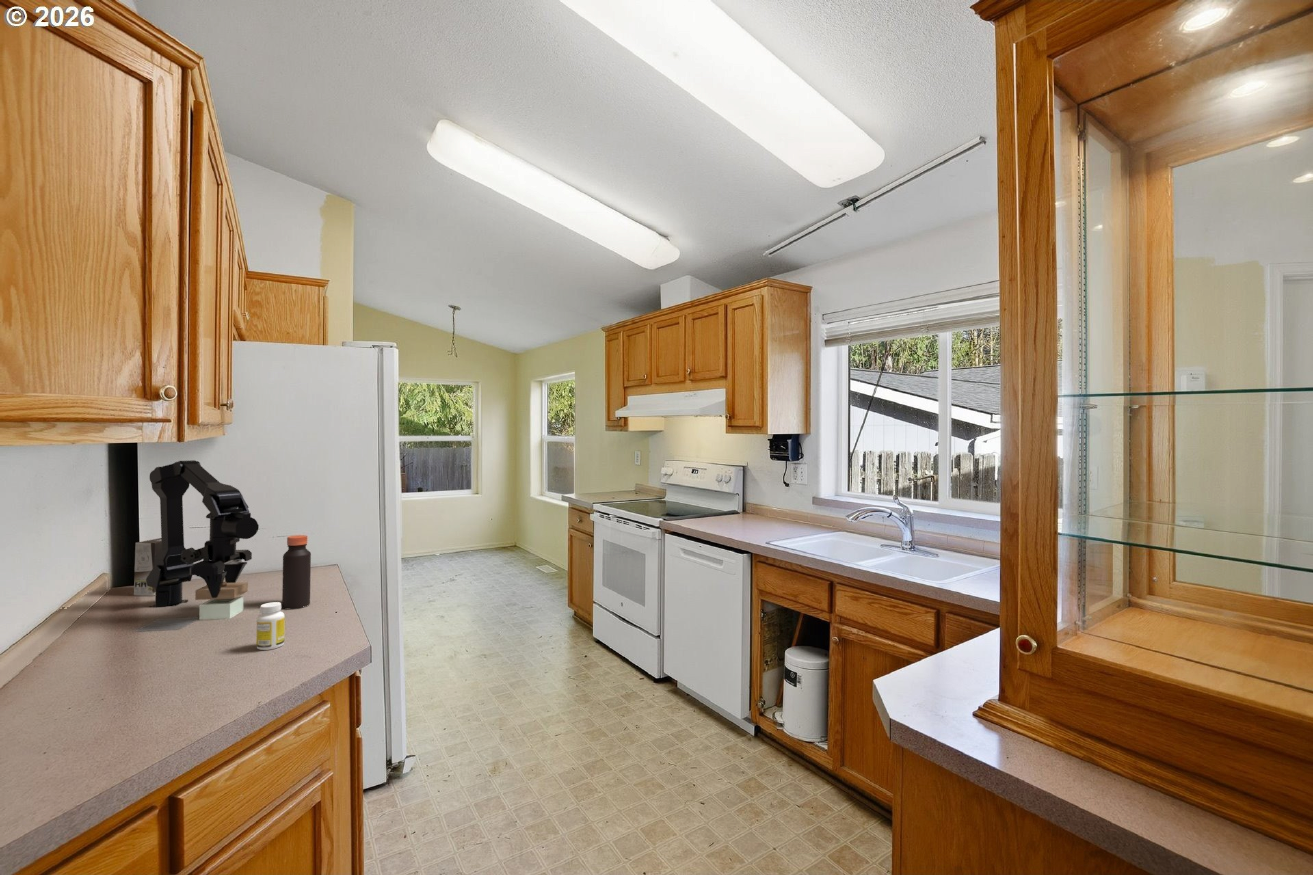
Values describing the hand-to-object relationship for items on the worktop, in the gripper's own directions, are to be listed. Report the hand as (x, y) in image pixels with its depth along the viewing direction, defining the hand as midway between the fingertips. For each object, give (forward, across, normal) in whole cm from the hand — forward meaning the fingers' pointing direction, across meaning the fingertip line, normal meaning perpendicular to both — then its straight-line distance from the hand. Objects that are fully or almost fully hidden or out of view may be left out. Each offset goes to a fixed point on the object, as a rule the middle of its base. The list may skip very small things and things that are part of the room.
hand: (222, 593), depth 152 cm
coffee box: (+7, -30, -32) cm, 44 cm away
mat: (+6, +6, -9) cm, 13 cm away
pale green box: (+6, 0, 0) cm, 6 cm away
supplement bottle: (+6, +25, +22) cm, 34 cm away
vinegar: (+6, -8, +15) cm, 18 cm away
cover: (0, 0, 0) cm, 0 cm away
